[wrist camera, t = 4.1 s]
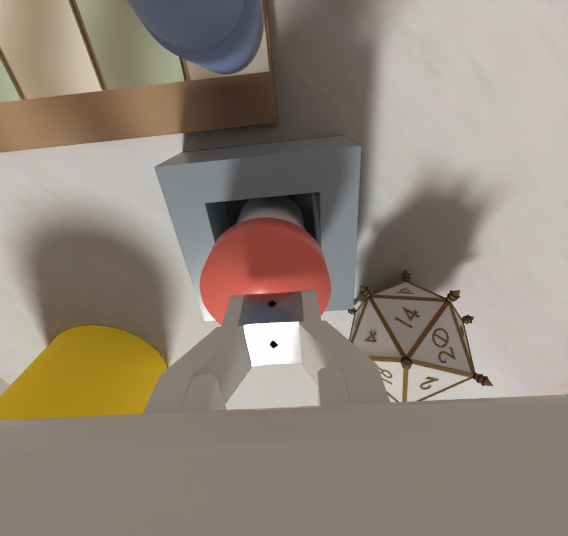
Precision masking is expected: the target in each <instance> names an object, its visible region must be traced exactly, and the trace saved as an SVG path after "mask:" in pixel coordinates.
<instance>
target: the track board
mask: <svg viewBox="0 0 568 536" xmlns="http://www.w3.org/2000/svg"><path fill="white" fill-rule="evenodd" d="M260 3H261V9H262V16H263V36H262V41H261V45H260V48H259V50H258V53H257V54H256V56H255V58H254V59H253V61H252V62H251V63H250V64H249V65H248V66H247V67H246V68H244V69H243V70H241V71H239V72H237V73H234V74H227V75H224V74H218V73H214V72H212V71H210V70H208V69H205V68H203V67H201V66H199V65H196V64H194V63H192V62H190V61H188V60H185V59H183V58H181V57H179V56H177V55H175V54H173V53H171V52H170V51H168V50H167V49H165V48H164V47H163V46H162V45H160V44H159V43H158V42H157V41H156V40H155V39H154V38H153V37H152V35H151V34H150V33H149V32H148V31H147V29H146V28H145V26H144V25H143V23H142V22H141V20H140V19H139V17H138V16H137V15H136V13H135V12H134V11H133V9H132V8H131V6H130V4H129V3H128V1H127V0H0V153H1V152H10V151H19V150H29V149H38V148H47V147H56V146H66V145H75V144H84V143H94V142H103V141H112V140H122V139H131V138H140V137H150V136H159V135H168V134H178V133H187V132H196V131H205V130H215V129H224V128H233V127H243V126H252V125H261V124H271V123H277V122H278V121H277V110H276V100H275V89H274V78H273V68H272V57H271V46H270V36H269V25H268V15H267V4H266V0H260Z"/></svg>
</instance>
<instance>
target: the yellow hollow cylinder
mask: <svg viewBox="0 0 568 536" xmlns="http://www.w3.org/2000/svg"><path fill="white" fill-rule="evenodd" d="M167 369H168V368H167V365H166V362H165V360H164V359H163V357H162V356H161V355H160V353H159V352H158V351H157V350H156V349H155V348H154V347H153V346H151V345H150V344H149V343H147V342H146V341H144V340H143V339H141V338H139V337H137V336H135V335H133V334H131V333H128V332H126V331H123V330H120V329H116V328H112V327H106V326H97V325H87V326H78V327H74V328H70V329H68V330H66V331H64V332H62V333H60V334H59V335H58V336H57V337H56V338H55V339H54V340H53V341H52V342H51V343H50V344H49V345H48V346H47V347H46V348H45V349H44V351H43V352H42V353H41V354H40V355H39V356H38V357H37V358H36V359H35V360H34V361H33V362H32V363H31V364H30V365H29V366H28V367H27V369H26V370H25V371H24V372H23V373H22V374H21V375H20V376H19V377H18V378H17V379H16V380H15V381H14V382H13V383H12V384H11V385H10V387H9V388H8V389H7V390H6V391H5V392H4V393H3V394H2V395H1V396H0V420H19V419H41V418H63V417H84V416H106V415H128V414H143V412H144V410H145V408H146V406H147V403H148V401H149V399H150V397H151V395H152V392H153V390H154V388H155V386H156V384H157V381H158V379H159V377H160V375H161V374H162V373H164V372H165V371H166V370H167Z"/></svg>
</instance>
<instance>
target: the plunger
mask: <svg viewBox="0 0 568 536" xmlns="http://www.w3.org/2000/svg"><path fill="white" fill-rule="evenodd" d="M199 285H200V294H201V298H202V301H203V303H204V305H205V307H206V309H207V311H208V312H209V313H210V315H211V316H212V317H213V318H214V319H215V320H216V321H217V322H218V323H219V324H221V325H222V322H223V319H224V315H225V311H226V308H227V304H228V301H229V298H230V296H231V295H241V294H245V295H246V294H261V293H283V292H297V291H303V290H314V289H315V290H316V293H317V299H318V305H319V311H320V317H321V315H322V314H323V313H324V311H325V309H326V307H327V305H328V303H329V299H330V295H331V280H330V276H329V272H328V269H327V265H326V262H325V258H324V255H323V252H322V250H321V248H320V246H319V244H318V243H317V241H316V240H315V239H314V238H313V237H312V236H311V235H310V234H309V233H308V232H307V231H306V230H305V227H304V222H303V217H302V214H301V211H300V209H299V208H298V206H297V205H296V204H295V203H294V202H293V201H292V200H291V199H289V198H288V197H286V196H284V195H283V196H273V197H263V198H252V199H250V200H248V201H247V202H246V203H245V204H244V206H243V207H242V209H241V211H240V214H239V217H238V219H237V222H236V224H235V225H234V226H232V227H230V228H229V229H227V230H226V231H225V232H224V233H223V234H222V235H221V236H220V237H219V238H218V239H217V241H216V242H215V244H214V245H213V247H212V250H211V252H210V254H209V256H208V258H207V260H206V263H205V265H204V267H203V269H202V272H201V276H200V284H199Z"/></svg>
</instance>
